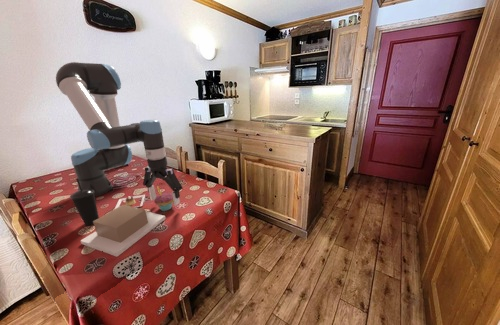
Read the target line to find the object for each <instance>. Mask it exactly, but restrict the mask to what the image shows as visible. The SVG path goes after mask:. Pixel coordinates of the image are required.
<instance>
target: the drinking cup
mask: <svg viewBox="0 0 500 325" xmlns="http://www.w3.org/2000/svg"><path fill="white" fill-rule="evenodd" d="M76 183H77V187H78V186H79V189H80V190H79V191H78V190H76V191H75V192H73V193H71V194H70V195H69V199H71V200H72V203H73V204H74V206H75V208H76V210H77V212H78V214H79V216H80V218H81V219H82V222H83V223H84V226H86V227H90V226H94V224H93V221H95V220H96V219H98V218H100V217H99V212H98V207H97V201H96V196H94V190H93V189H82V188H81V185H80V182H79V179H78V178H77V177H76Z"/></svg>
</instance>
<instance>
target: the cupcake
mask: <svg viewBox="0 0 500 325" xmlns="http://www.w3.org/2000/svg"><path fill="white" fill-rule="evenodd" d="M156 186H157V187H156V188H157V191H158V193H159V194H158V195H156V198H155V199H154V200H153V202H154V203H155V206H158V207H159V209H160V211H162V212H166V211H169V210H171V209H172V207H173V204H174V200H173V194H172V192H163V193H162V191H161V189H160V186H158V185H156Z"/></svg>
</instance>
